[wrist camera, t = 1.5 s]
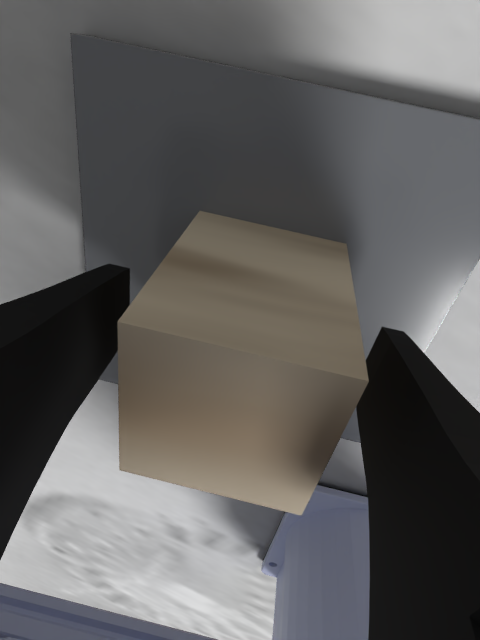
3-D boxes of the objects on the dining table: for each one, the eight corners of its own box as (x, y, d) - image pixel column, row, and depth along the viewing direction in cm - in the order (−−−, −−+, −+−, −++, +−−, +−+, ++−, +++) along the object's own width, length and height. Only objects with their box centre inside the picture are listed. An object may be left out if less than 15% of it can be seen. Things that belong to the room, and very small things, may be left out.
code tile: (369, 434, 17) (370, 445, 16) (99, 368, 17) (92, 377, 17) (539, 131, 10) (551, 135, 9) (82, 34, 10) (70, 33, 10)
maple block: (306, 356, 14) (301, 515, 9) (186, 328, 14) (119, 470, 10) (346, 243, 12) (369, 380, 7) (199, 210, 12) (117, 321, 7)
